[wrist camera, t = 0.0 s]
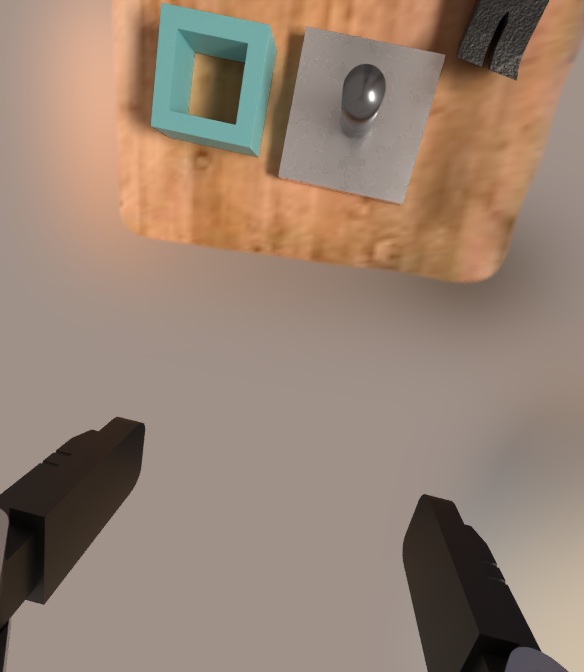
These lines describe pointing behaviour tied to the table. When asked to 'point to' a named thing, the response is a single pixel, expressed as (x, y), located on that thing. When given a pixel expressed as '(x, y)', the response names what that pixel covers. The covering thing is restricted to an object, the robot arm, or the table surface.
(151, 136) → the table surface
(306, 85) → the stand
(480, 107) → the table surface
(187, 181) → the table surface
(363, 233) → the table surface
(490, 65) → the hammer
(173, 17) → the collar
